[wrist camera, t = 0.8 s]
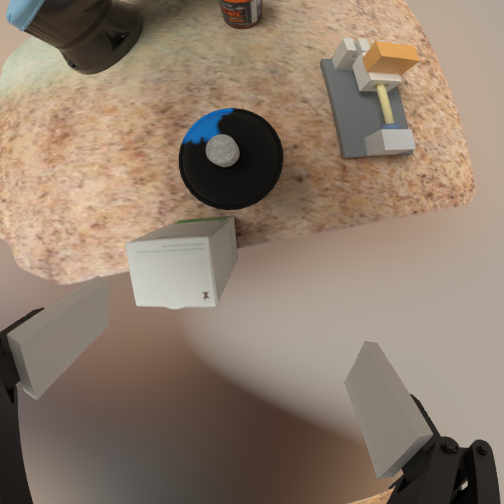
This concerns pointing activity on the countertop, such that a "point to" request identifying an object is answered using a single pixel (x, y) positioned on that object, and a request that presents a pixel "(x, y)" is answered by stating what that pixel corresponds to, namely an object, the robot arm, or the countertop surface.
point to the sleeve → (383, 65)
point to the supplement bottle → (241, 12)
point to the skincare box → (183, 263)
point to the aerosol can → (230, 159)
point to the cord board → (364, 108)
